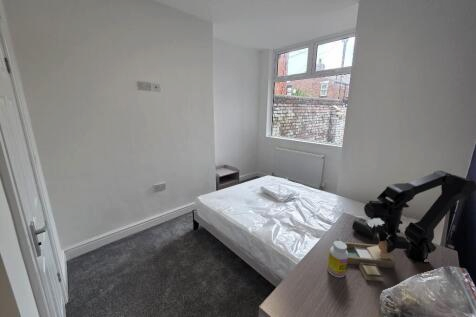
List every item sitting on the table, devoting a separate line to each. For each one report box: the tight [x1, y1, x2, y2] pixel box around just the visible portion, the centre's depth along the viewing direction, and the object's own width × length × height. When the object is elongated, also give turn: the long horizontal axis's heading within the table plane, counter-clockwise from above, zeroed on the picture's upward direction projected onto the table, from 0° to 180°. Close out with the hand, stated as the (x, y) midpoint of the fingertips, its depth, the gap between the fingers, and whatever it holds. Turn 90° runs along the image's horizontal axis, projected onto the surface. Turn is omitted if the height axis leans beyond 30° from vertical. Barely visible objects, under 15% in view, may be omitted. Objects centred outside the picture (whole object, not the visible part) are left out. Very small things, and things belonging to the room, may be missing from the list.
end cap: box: [351, 218, 378, 241], centre depth 102 cm, size 10×7×7 cm
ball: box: [377, 240, 387, 252], centre depth 85 cm, size 4×4×4 cm
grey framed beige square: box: [358, 263, 384, 282], centre depth 79 cm, size 6×6×2 cm
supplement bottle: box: [326, 240, 349, 278], centre depth 79 cm, size 7×7×13 cm
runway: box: [336, 237, 397, 269], centre depth 87 cm, size 19×10×5 cm, turn 81°
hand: (384, 248), depth 85 cm, fingers open, 5 cm apart
